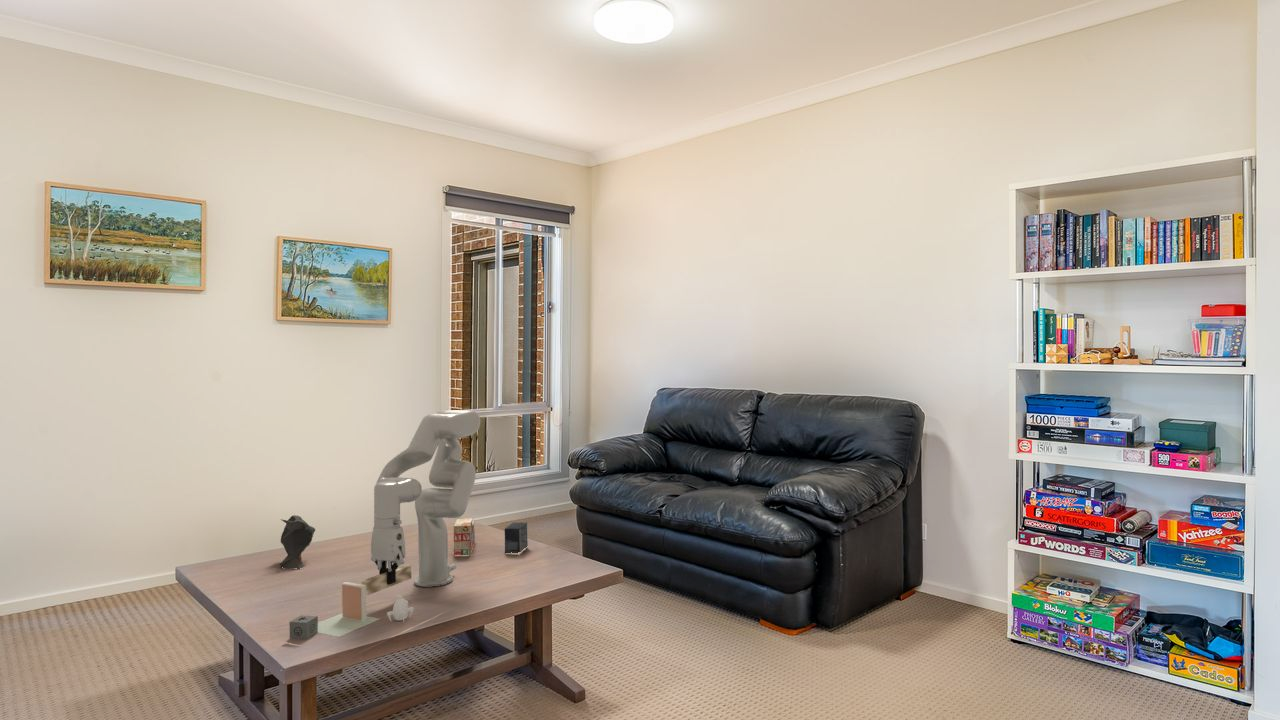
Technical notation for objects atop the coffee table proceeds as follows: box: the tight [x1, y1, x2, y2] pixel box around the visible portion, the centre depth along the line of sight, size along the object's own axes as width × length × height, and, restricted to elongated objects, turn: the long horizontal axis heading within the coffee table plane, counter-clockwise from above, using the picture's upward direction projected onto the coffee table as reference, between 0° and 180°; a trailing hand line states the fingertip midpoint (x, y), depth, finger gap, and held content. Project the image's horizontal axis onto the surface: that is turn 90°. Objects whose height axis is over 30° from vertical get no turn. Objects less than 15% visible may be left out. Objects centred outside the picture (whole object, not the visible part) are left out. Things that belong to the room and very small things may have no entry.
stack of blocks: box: [453, 517, 476, 557], centre depth 288 cm, size 21×6×12 cm, turn 8°
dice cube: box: [289, 614, 319, 640], centre depth 197 cm, size 5×5×5 cm
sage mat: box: [317, 612, 380, 638], centre depth 205 cm, size 15×14×1 cm
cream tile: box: [341, 581, 367, 622], centre depth 209 cm, size 2×8×10 cm, turn 65°
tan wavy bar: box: [361, 564, 412, 596], centre depth 221 cm, size 18×2×4 cm, turn 155°
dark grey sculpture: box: [279, 514, 316, 570], centre depth 271 cm, size 14×15×18 cm
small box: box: [504, 522, 529, 554], centre depth 284 cm, size 11×6×10 cm, turn 172°
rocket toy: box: [386, 593, 414, 623], centre depth 208 cm, size 5×5×8 cm
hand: (387, 582), depth 221 cm, fingers closed on tan wavy bar, 2 cm apart
